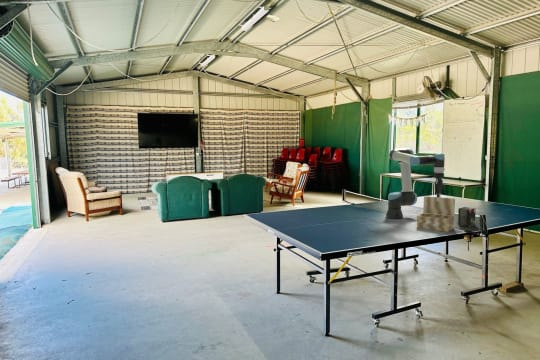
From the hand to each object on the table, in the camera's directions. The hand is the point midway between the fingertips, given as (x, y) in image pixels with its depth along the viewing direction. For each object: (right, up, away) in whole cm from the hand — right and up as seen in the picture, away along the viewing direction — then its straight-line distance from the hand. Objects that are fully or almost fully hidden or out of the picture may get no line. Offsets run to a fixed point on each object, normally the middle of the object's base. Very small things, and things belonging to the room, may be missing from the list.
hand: (438, 201), depth 289 cm
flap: (0, -4, +1) cm, 4 cm away
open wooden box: (-4, -22, -3) cm, 22 cm away
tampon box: (+25, -21, +3) cm, 32 cm away
